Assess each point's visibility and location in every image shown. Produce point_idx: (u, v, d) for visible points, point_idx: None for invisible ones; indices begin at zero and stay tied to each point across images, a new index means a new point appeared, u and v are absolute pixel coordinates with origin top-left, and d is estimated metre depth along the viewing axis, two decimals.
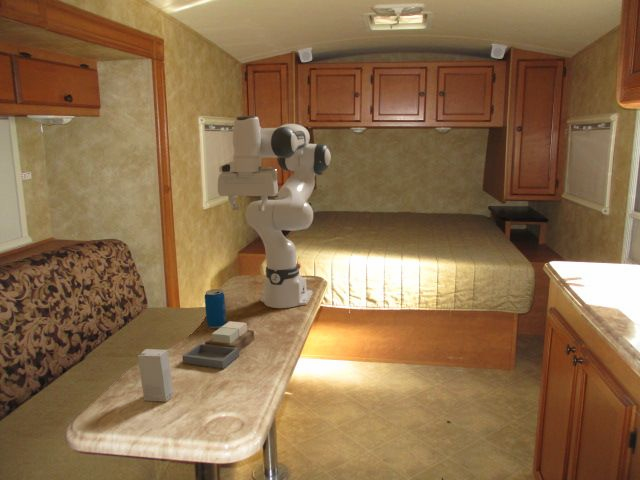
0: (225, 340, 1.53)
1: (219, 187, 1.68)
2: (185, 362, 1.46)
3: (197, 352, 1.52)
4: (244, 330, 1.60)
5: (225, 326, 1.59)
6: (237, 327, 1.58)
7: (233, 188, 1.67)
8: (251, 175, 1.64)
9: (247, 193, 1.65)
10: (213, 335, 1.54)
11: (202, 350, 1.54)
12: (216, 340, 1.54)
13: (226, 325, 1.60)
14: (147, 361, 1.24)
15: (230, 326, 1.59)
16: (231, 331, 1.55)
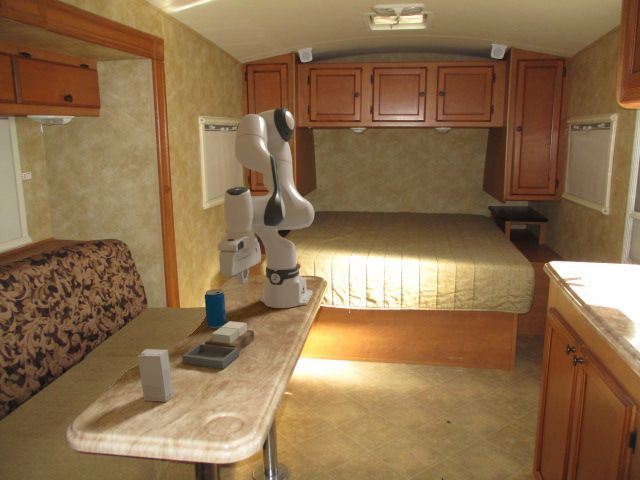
0: (225, 340, 1.53)
1: (232, 267, 1.54)
2: (185, 362, 1.46)
3: (197, 352, 1.52)
4: (244, 330, 1.60)
5: (225, 326, 1.59)
6: (237, 327, 1.58)
7: (240, 264, 1.59)
8: None
9: (248, 266, 1.64)
10: (213, 335, 1.54)
11: (202, 350, 1.54)
12: (216, 340, 1.54)
13: (226, 325, 1.60)
14: (147, 361, 1.24)
15: (230, 326, 1.59)
16: (231, 331, 1.55)
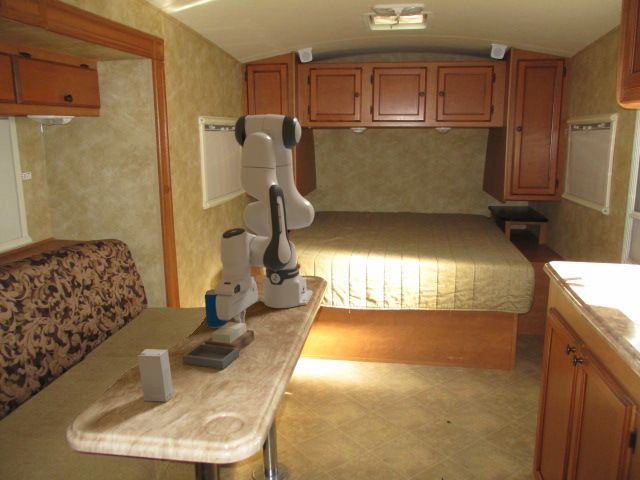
0: (225, 340, 1.53)
1: (229, 311, 1.53)
2: (185, 362, 1.46)
3: (197, 352, 1.52)
4: (243, 330, 1.60)
5: (224, 326, 1.59)
6: (236, 327, 1.58)
7: (237, 307, 1.58)
8: None
9: (245, 307, 1.63)
10: (213, 335, 1.54)
11: (202, 350, 1.54)
12: (216, 340, 1.54)
13: (225, 325, 1.60)
14: (147, 361, 1.24)
15: (229, 326, 1.59)
16: (231, 331, 1.55)
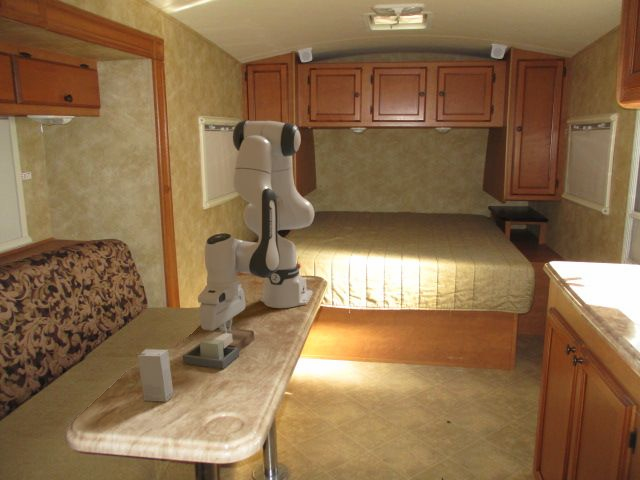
0: None
1: (213, 321, 1.45)
2: (185, 362, 1.46)
3: (197, 352, 1.52)
4: (229, 341, 1.52)
5: (209, 337, 1.51)
6: (221, 339, 1.49)
7: (222, 316, 1.50)
8: None
9: (231, 316, 1.55)
10: None
11: None
12: None
13: (210, 336, 1.51)
14: (147, 361, 1.24)
15: (214, 337, 1.50)
16: (215, 351, 1.47)
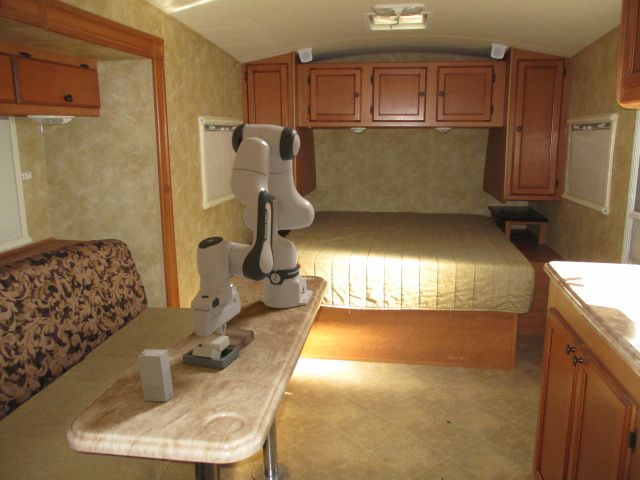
0: None
1: (207, 327, 1.42)
2: (185, 362, 1.46)
3: None
4: (226, 344, 1.50)
5: (205, 341, 1.49)
6: (218, 342, 1.48)
7: (216, 321, 1.47)
8: None
9: (226, 320, 1.52)
10: None
11: None
12: None
13: (206, 339, 1.50)
14: (147, 361, 1.24)
15: (211, 341, 1.49)
16: None
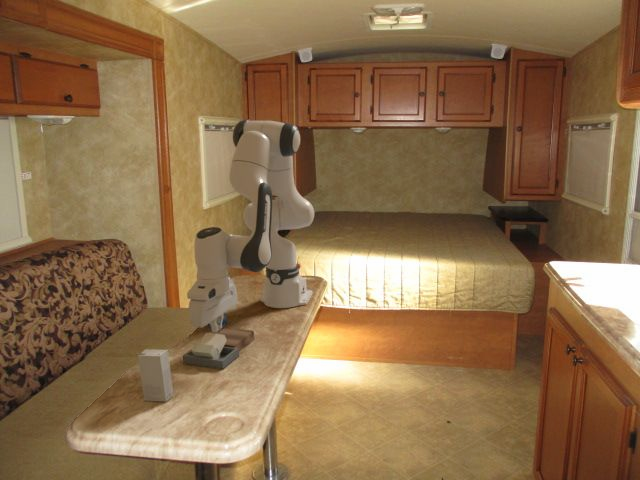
0: None
1: (203, 318, 1.41)
2: (185, 362, 1.46)
3: None
4: (223, 343, 1.49)
5: None
6: (215, 345, 1.47)
7: (212, 313, 1.46)
8: None
9: (222, 312, 1.51)
10: None
11: None
12: None
13: (203, 342, 1.48)
14: (147, 361, 1.24)
15: (207, 344, 1.48)
16: (210, 357, 1.44)
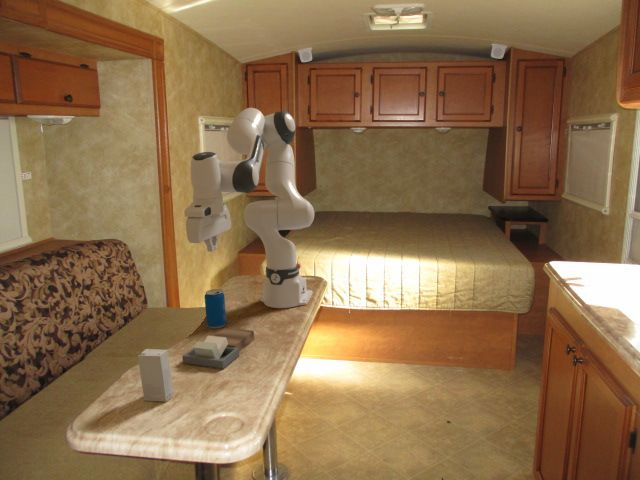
0: None
1: (199, 234, 1.51)
2: (185, 362, 1.46)
3: None
4: (224, 345, 1.50)
5: None
6: None
7: (208, 231, 1.56)
8: None
9: (217, 233, 1.61)
10: None
11: None
12: None
13: None
14: (147, 361, 1.24)
15: None
16: (211, 355, 1.45)
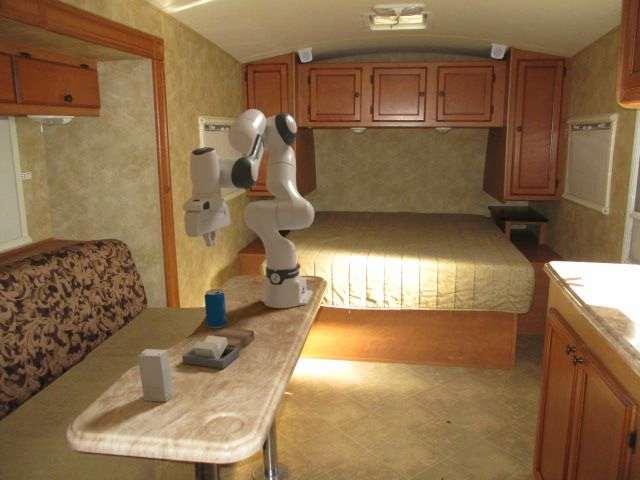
0: None
1: (198, 228, 1.52)
2: (185, 362, 1.46)
3: None
4: (224, 345, 1.50)
5: None
6: None
7: (206, 226, 1.57)
8: None
9: (216, 228, 1.62)
10: None
11: None
12: None
13: None
14: (147, 361, 1.24)
15: None
16: (211, 355, 1.45)
